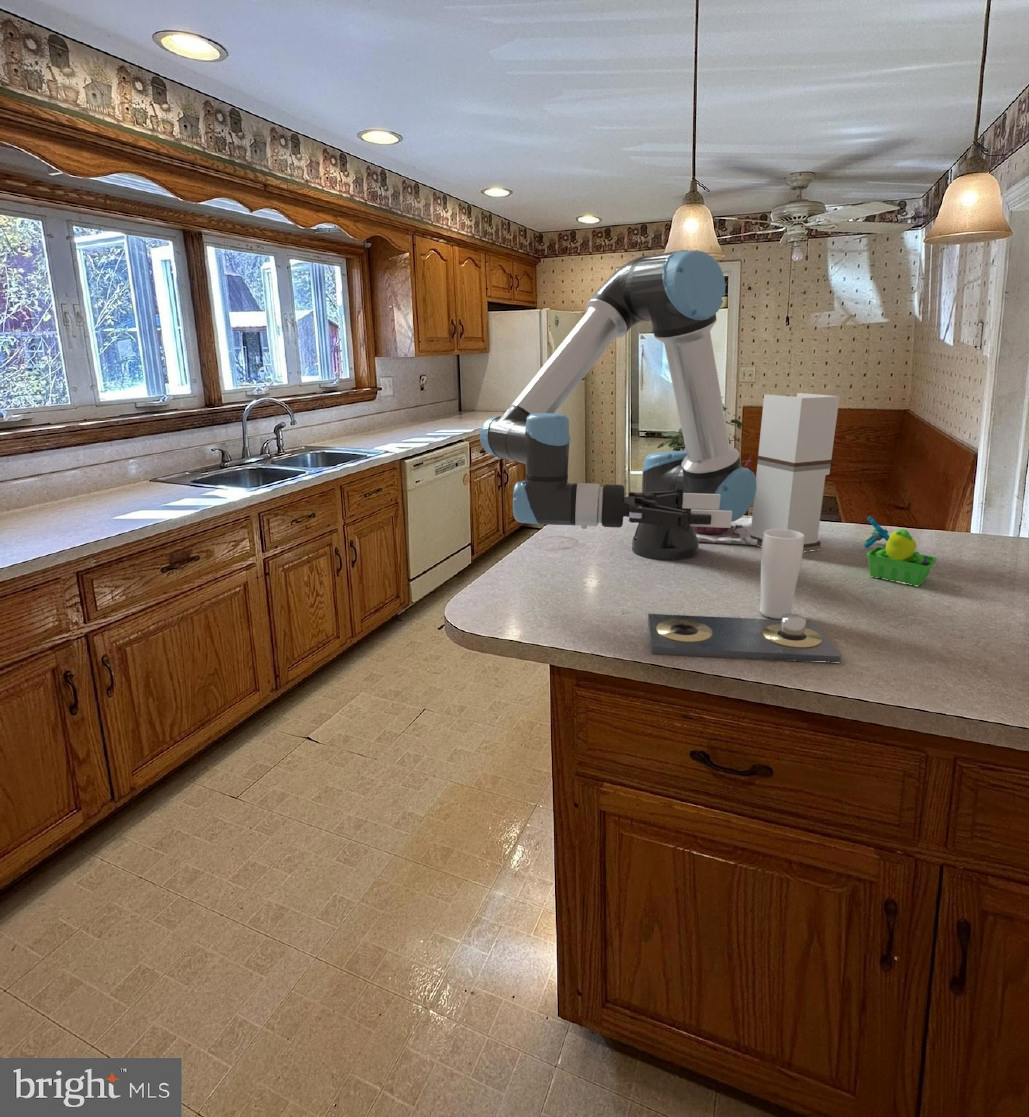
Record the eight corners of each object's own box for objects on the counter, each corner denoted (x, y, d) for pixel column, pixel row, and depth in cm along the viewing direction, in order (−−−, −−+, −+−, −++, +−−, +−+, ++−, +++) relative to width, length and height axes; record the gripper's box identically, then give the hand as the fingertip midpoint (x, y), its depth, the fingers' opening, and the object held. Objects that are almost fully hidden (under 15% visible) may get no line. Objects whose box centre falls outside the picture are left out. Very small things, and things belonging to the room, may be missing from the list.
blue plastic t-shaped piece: (906, 549, 159) (875, 516, 160) (883, 566, 161) (852, 533, 162) (897, 543, 169) (868, 511, 170) (875, 559, 171) (847, 527, 172)
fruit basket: (933, 581, 143) (943, 527, 140) (921, 592, 137) (931, 536, 134) (873, 569, 151) (881, 517, 147) (859, 579, 145) (867, 525, 141)
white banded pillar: (819, 550, 164) (839, 396, 154) (784, 555, 160) (801, 398, 150) (784, 538, 174) (800, 393, 164) (749, 543, 170) (764, 394, 160)
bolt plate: (814, 627, 120) (818, 603, 119) (839, 663, 107) (843, 636, 106) (647, 620, 124) (649, 596, 123) (651, 653, 111) (653, 627, 109)
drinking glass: (794, 610, 128) (804, 530, 124) (795, 623, 122) (805, 540, 118) (755, 605, 130) (763, 527, 126) (754, 619, 124) (762, 536, 120)
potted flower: (754, 520, 190) (764, 386, 179) (756, 544, 167) (769, 393, 157) (653, 515, 197) (658, 386, 187) (643, 538, 174) (648, 393, 164)
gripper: (601, 510, 137) (713, 515, 135) (598, 544, 114) (734, 550, 111) (603, 472, 135) (717, 476, 132) (600, 499, 111) (739, 504, 109)
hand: (725, 510), depth 122 cm, fingers open, 13 cm apart
